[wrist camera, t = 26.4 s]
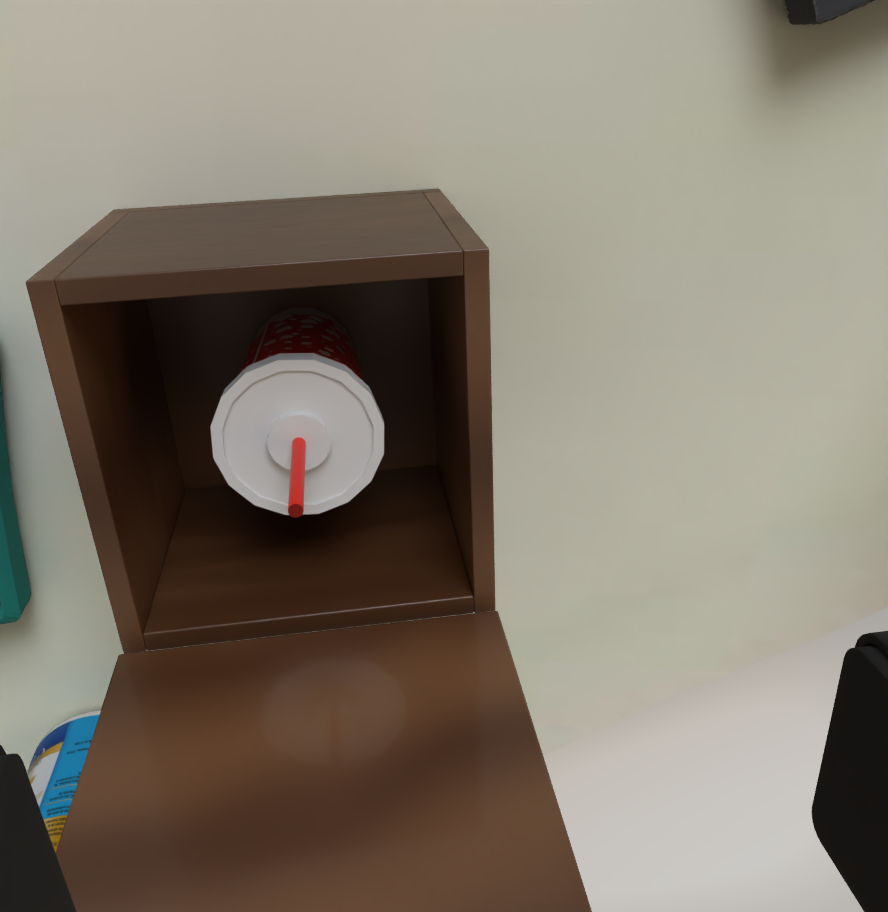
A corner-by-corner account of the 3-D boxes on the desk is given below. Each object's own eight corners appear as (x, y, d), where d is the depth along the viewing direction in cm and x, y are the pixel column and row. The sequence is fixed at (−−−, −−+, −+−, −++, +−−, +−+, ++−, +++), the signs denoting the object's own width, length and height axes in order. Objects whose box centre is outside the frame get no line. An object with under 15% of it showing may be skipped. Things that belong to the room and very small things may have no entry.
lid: (-33, 1123, 17) (36, 1250, 19) (624, 1013, 18) (612, 1145, 21) (118, 653, 30) (148, 765, 32) (497, 609, 31) (499, 720, 34)
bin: (113, 209, 35) (24, 281, 24) (439, 188, 36) (489, 248, 26) (173, 497, 41) (123, 654, 30) (451, 469, 42) (495, 611, 32)
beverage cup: (287, 443, 40) (274, 627, 27) (203, 339, 37) (145, 490, 24) (397, 373, 39) (435, 530, 26) (319, 262, 36) (320, 377, 24)
